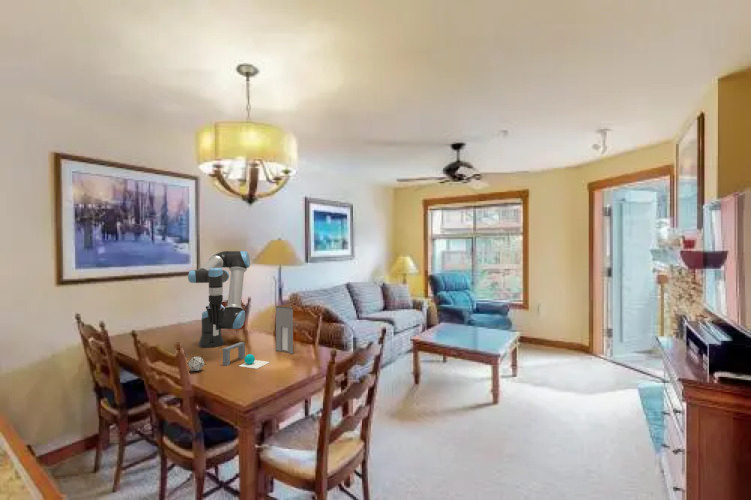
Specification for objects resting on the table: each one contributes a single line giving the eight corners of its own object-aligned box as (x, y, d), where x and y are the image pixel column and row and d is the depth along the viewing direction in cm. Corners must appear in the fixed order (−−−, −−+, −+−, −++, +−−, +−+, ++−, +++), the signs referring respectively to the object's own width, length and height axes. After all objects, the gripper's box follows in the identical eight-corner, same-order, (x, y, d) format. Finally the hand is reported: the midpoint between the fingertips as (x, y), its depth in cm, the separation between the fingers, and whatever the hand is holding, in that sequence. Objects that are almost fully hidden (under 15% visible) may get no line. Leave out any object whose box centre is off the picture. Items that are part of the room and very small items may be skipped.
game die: (196, 379, 199) (190, 368, 193) (187, 371, 204) (180, 359, 197) (211, 367, 205) (205, 356, 199) (202, 359, 209) (196, 348, 203)
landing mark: (238, 366, 209) (238, 365, 209) (252, 360, 221) (252, 359, 221) (256, 368, 205) (256, 368, 205) (270, 362, 216) (270, 361, 216)
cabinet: (292, 354, 233) (292, 308, 232) (276, 355, 230) (276, 308, 230) (290, 345, 253) (290, 303, 252) (275, 346, 250) (275, 303, 250)
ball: (251, 357, 209) (248, 367, 210) (257, 355, 214) (255, 364, 215) (243, 353, 211) (241, 363, 212) (250, 351, 216) (248, 360, 217)
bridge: (222, 365, 211) (222, 348, 211) (240, 357, 225) (240, 342, 225) (227, 365, 210) (227, 348, 210) (244, 358, 224) (244, 342, 224)
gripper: (201, 294, 220) (202, 335, 221) (220, 296, 216) (220, 337, 216) (211, 293, 227) (211, 332, 228) (229, 294, 223) (229, 334, 223)
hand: (215, 335), depth 222 cm, fingers closed
